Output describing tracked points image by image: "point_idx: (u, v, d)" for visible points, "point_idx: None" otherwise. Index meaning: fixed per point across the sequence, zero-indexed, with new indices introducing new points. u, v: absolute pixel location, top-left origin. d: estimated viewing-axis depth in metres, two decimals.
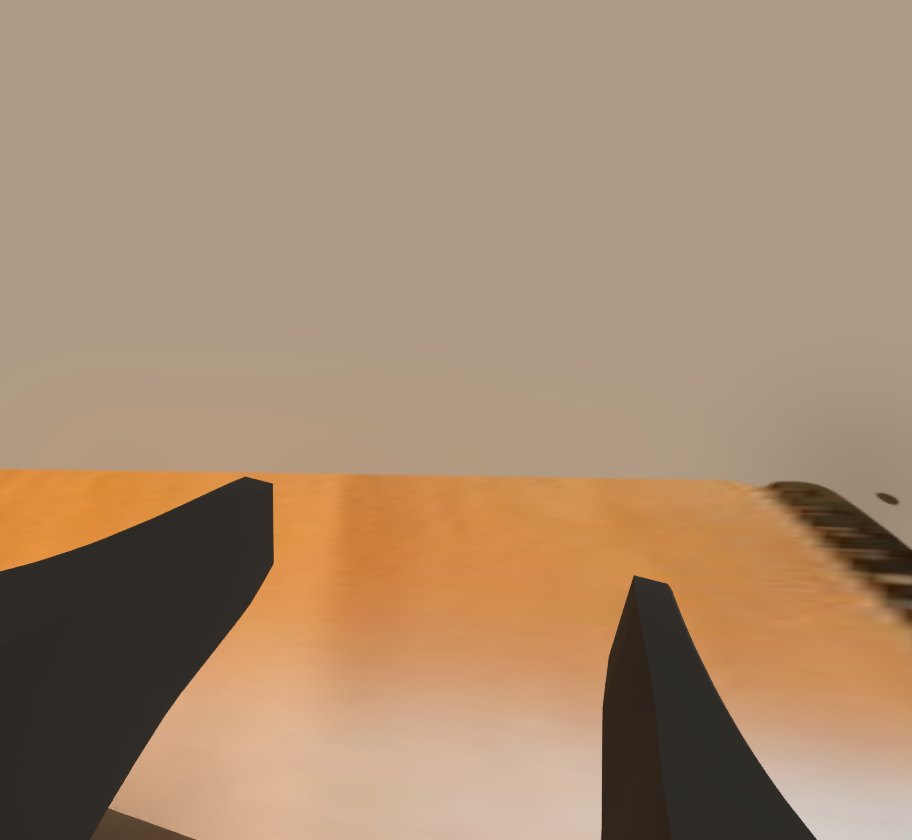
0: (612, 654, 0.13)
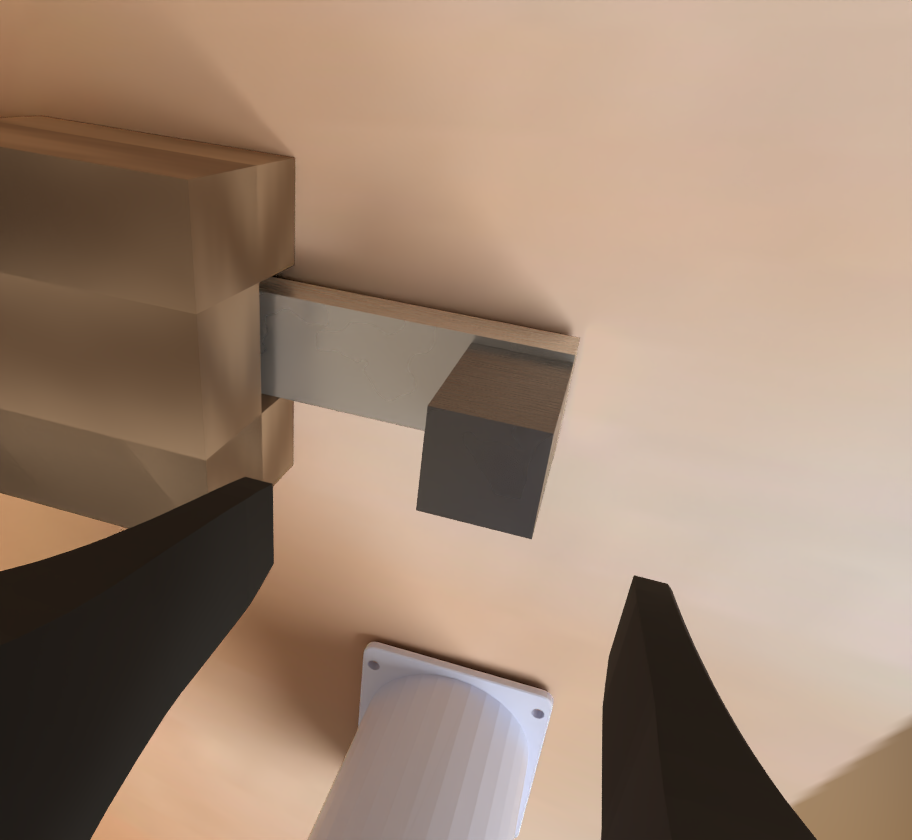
0: (612, 654, 0.13)
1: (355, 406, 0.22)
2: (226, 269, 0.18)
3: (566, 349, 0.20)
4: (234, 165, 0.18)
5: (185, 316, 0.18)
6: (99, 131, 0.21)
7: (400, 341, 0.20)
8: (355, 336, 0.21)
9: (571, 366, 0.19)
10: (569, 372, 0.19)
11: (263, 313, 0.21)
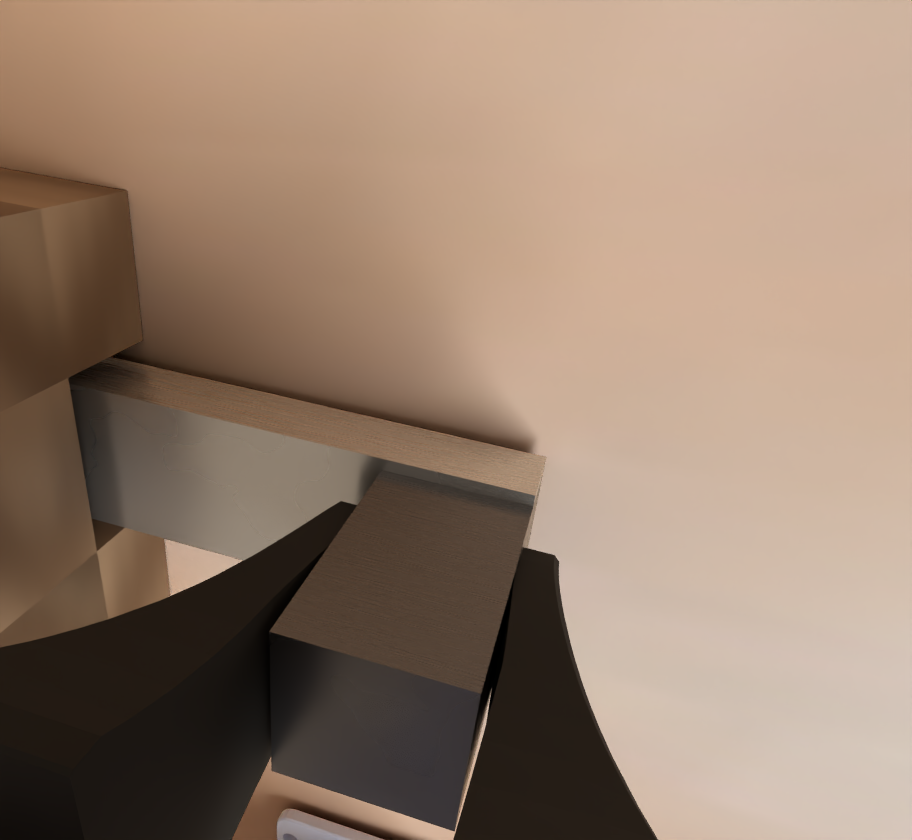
0: None
1: (227, 545, 0.15)
2: None
3: (523, 484, 0.13)
4: None
5: None
6: None
7: (280, 463, 0.14)
8: (217, 453, 0.14)
9: (529, 514, 0.13)
10: (524, 528, 0.12)
11: (87, 416, 0.15)
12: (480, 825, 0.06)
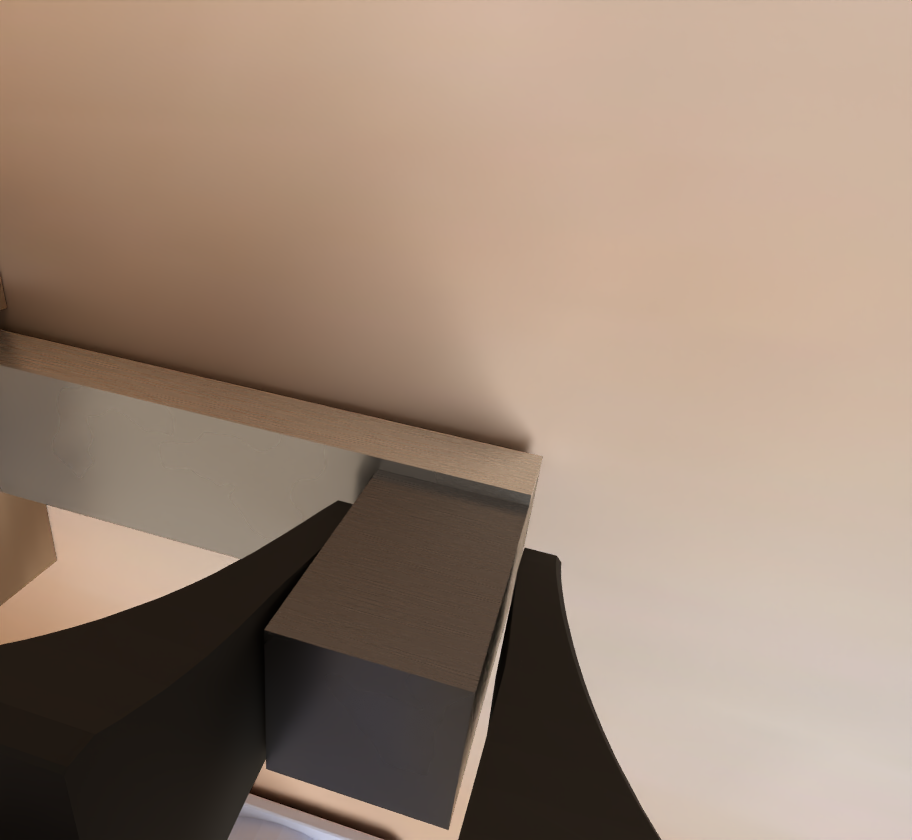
0: None
1: (223, 543, 0.15)
2: None
3: (519, 483, 0.13)
4: None
5: None
6: None
7: (276, 461, 0.14)
8: (213, 451, 0.14)
9: (525, 513, 0.13)
10: (520, 527, 0.12)
11: (84, 414, 0.15)
12: (485, 826, 0.06)
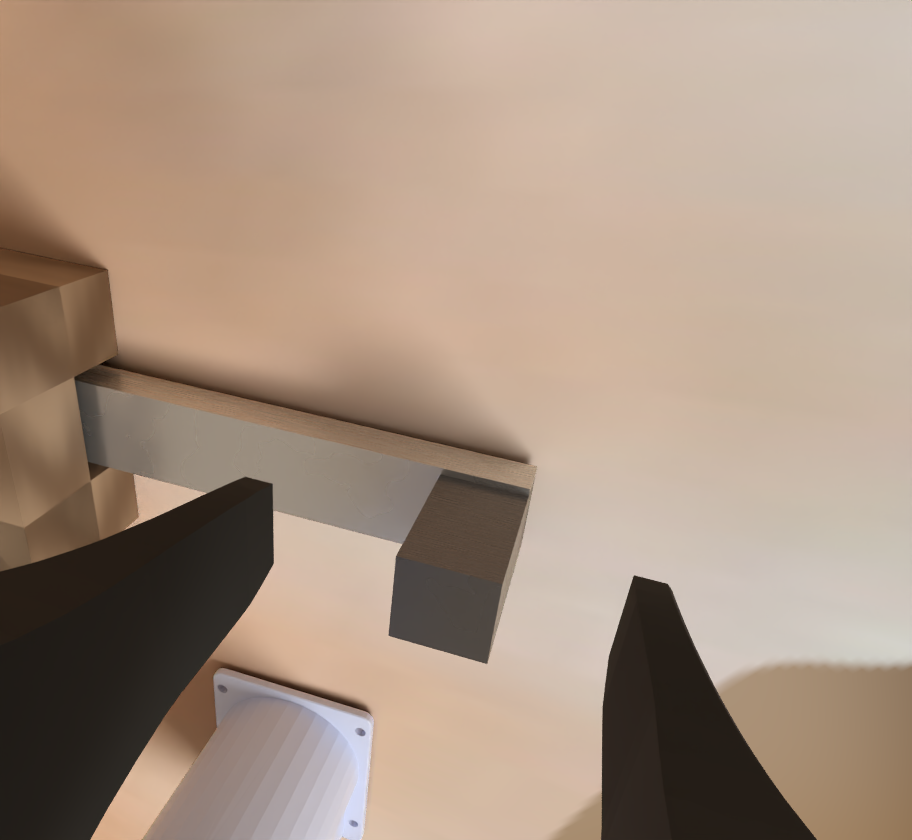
0: (612, 654, 0.13)
1: (339, 520, 0.25)
2: (31, 374, 0.22)
3: (523, 482, 0.22)
4: (37, 288, 0.22)
5: None
6: None
7: (378, 470, 0.23)
8: (338, 464, 0.23)
9: (526, 499, 0.22)
10: (524, 507, 0.21)
11: (257, 441, 0.24)
12: None
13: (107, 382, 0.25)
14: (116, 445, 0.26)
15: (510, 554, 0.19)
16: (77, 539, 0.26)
